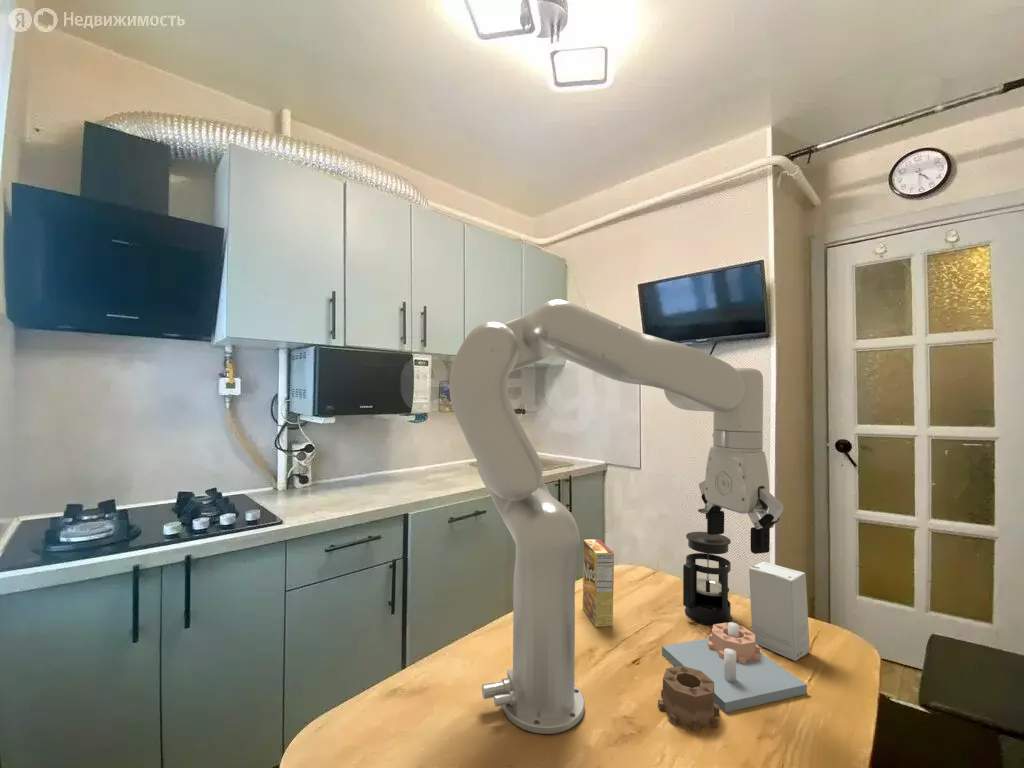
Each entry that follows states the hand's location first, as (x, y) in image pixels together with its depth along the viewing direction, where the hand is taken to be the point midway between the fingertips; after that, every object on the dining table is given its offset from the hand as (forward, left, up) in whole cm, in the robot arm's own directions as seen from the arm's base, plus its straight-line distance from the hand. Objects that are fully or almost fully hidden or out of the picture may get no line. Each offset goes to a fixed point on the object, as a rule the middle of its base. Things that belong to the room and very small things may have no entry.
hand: (736, 542), depth 77 cm
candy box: (-12, +26, -24) cm, 37 cm away
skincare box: (+16, +6, -24) cm, 29 cm away
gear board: (+1, +2, -23) cm, 23 cm away
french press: (+11, +20, -24) cm, 33 cm away
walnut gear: (-12, -4, -23) cm, 27 cm away
